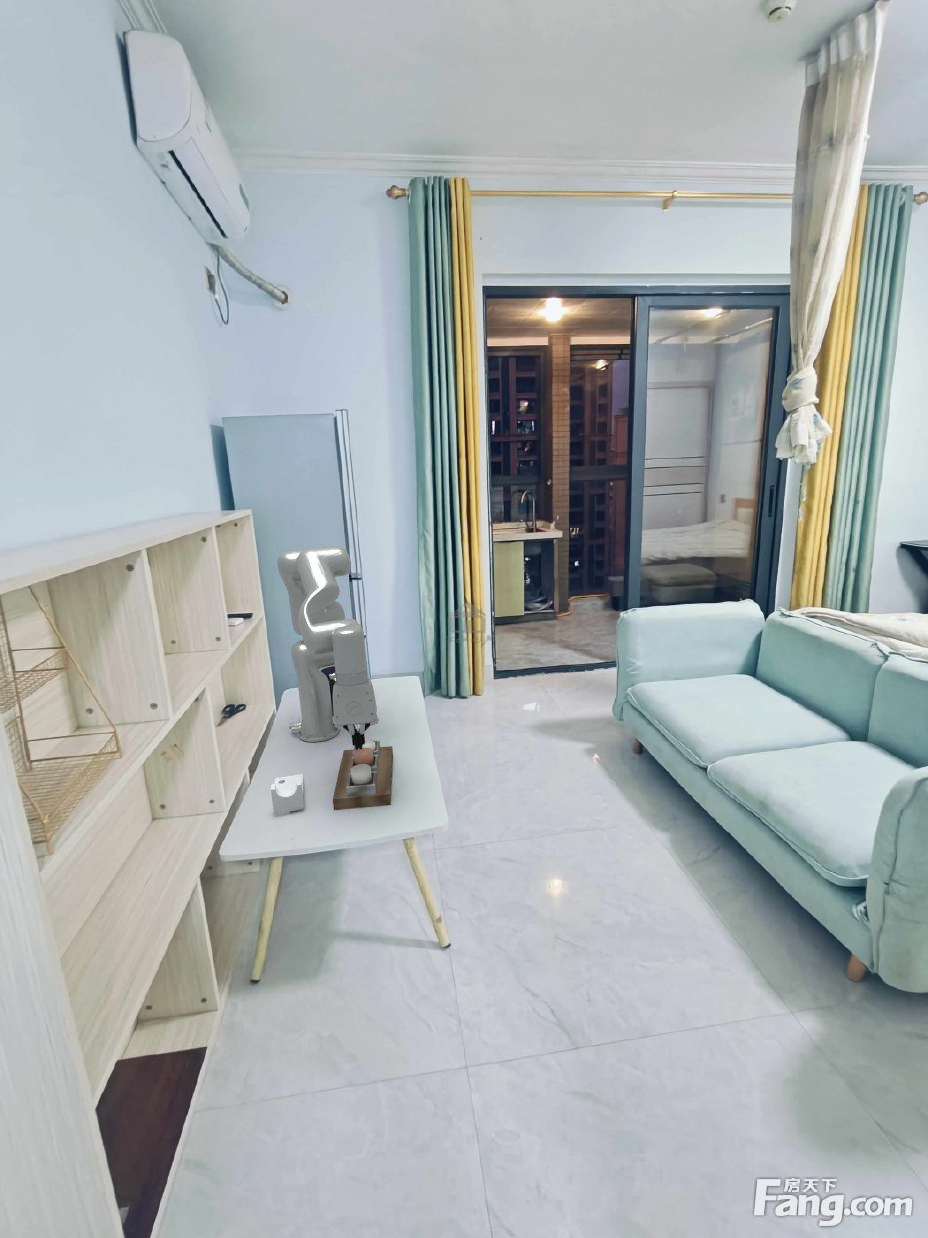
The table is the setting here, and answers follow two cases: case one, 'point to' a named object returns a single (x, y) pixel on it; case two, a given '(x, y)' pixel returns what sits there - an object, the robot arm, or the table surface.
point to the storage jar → (330, 681)
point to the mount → (368, 793)
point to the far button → (369, 745)
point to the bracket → (287, 794)
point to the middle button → (363, 756)
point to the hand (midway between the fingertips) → (359, 747)
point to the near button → (361, 774)
